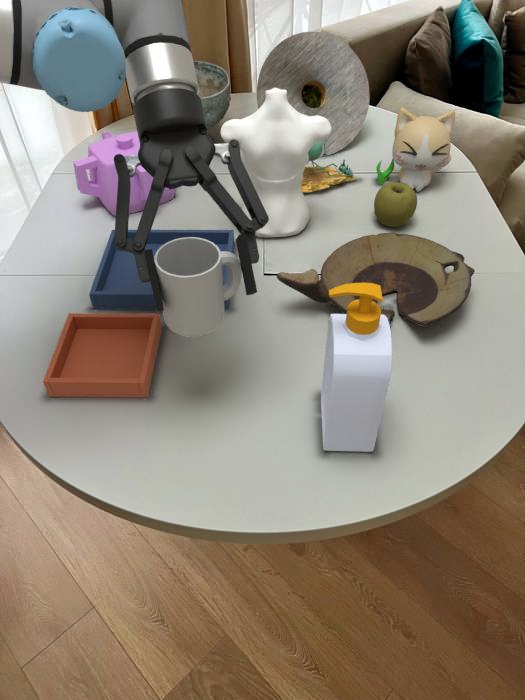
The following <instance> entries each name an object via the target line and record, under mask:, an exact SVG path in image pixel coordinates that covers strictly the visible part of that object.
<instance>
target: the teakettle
mask: <svg viewBox="0 0 525 700" xmlns="http://www.w3.org/2000/svg"><path fill="white" fill-rule="evenodd" d="M100 134H101V137H102V139H101V140H98V141H95V142H91V143H89V144H88V147H87V148H88V149H87V157H84V158H81V159H77V160H74V161H73V170H74V176H75V182H76V188H77V190H78V192H79V193H80V194H83V195H87V196H91V197H97V198H98V199H99V201H100V202H101V203H102V205H103V206H104V207H105V208H106V209H107V211H108V212H109V213H110V214H112V216H114V217H116V205H117V190H118V175H117V172H116V169H115V164H114V156H115V155H117V154H121V155H123V156H124V157H125V156H129V155H134V154H138V151H139V148H140V142H139V138H138V133H137V130H135V131H131V132H126V133H125V132H124V133H120V134H117V135H114V136H113V135H112V133H111V132H110V131H104V132H101V133H100ZM87 170H88V172H89V176H88V172H87ZM89 178H90V179H89ZM152 181H153V177H152V176H151V175H150V174H149V173H148V172H147V171H146V170H145V169H144V168H143V167H142V166H141V165H140V166H138V167H137V168H136V175H135V176H134V177H132V178H130V183H131V191H130V206H129V215H131V214H135V213H138V212H143V210H144V207H145V204H146V201H147V198H148V195H149V192H150V188H151V184H152ZM175 194H176V189H170V190H169V188H166V187H165V189H164V192H163V195H162V198H161V200H160V203H159V206H160V205H162V204H164V203H167V202H169V201H171V200H173V199H174V197H175Z"/></svg>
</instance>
